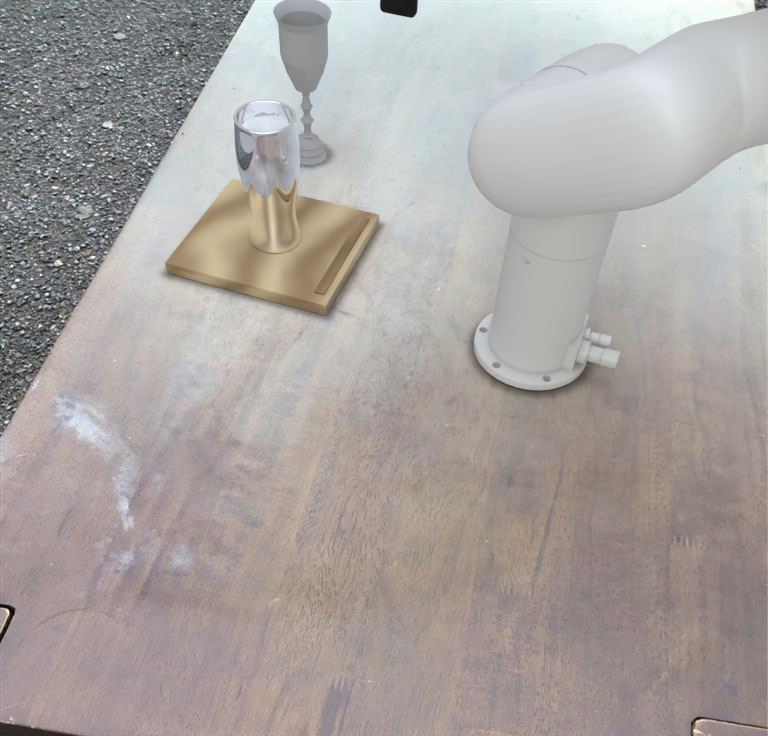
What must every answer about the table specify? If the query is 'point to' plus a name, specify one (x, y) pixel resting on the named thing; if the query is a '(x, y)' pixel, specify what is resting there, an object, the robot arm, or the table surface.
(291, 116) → the beer glass
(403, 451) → the table surface
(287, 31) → the chalice
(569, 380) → the robot arm
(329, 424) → the table surface
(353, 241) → the serving board
